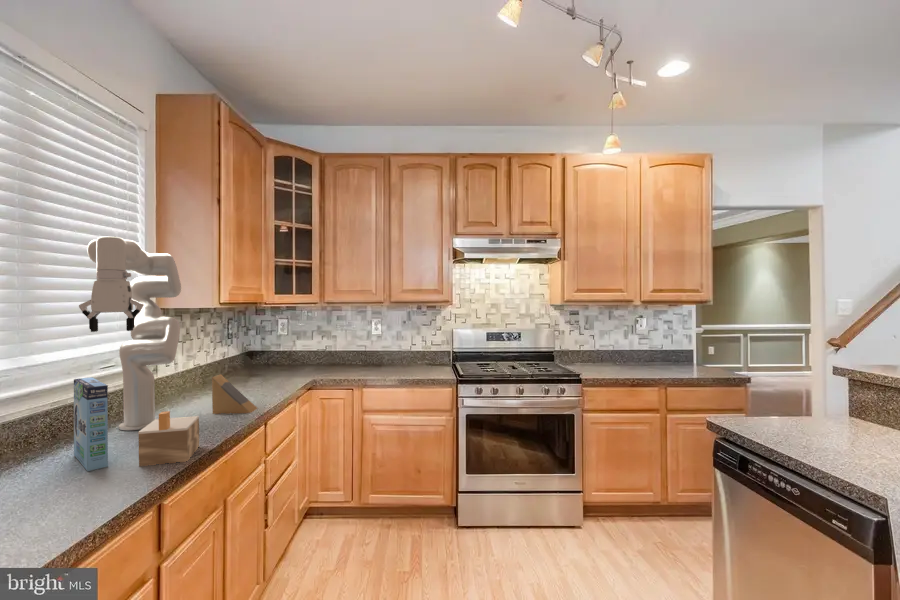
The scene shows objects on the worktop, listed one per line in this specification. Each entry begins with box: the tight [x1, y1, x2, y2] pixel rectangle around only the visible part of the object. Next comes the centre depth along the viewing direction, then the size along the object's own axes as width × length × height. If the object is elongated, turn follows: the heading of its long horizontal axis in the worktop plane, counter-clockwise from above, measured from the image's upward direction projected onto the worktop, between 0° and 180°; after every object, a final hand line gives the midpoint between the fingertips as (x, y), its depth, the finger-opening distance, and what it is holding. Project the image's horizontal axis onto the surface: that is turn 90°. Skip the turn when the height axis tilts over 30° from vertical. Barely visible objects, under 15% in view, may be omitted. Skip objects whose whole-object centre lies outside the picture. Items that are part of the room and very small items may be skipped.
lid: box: [138, 410, 200, 434], centre depth 138 cm, size 14×12×5 cm
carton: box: [137, 417, 200, 467], centre depth 138 cm, size 14×12×9 cm
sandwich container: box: [211, 373, 258, 415], centre depth 192 cm, size 9×15×15 cm, turn 94°
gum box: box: [73, 376, 109, 473], centre depth 134 cm, size 20×5×23 cm, turn 47°
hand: (112, 331), depth 146 cm, fingers open, 9 cm apart
